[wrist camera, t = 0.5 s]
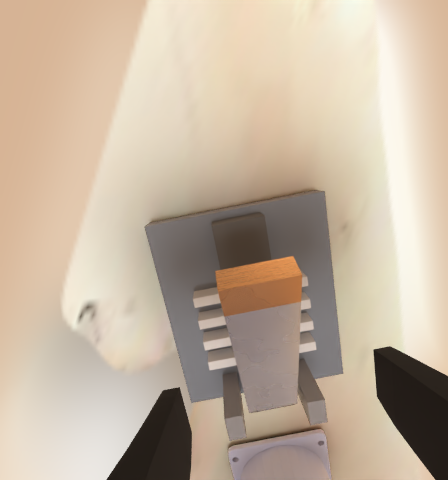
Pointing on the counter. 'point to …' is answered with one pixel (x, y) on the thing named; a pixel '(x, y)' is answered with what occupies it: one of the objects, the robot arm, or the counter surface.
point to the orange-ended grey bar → (264, 328)
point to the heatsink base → (239, 254)
